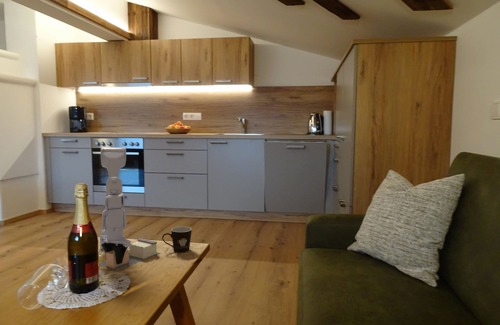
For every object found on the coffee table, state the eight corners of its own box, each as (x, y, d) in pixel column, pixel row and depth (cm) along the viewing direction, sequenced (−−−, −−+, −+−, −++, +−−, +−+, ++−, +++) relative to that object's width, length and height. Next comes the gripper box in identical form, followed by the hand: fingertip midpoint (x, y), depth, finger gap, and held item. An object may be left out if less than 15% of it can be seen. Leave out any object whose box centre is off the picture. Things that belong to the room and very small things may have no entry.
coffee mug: (193, 249, 153) (194, 227, 153) (188, 256, 145) (188, 232, 144) (168, 248, 155) (168, 225, 154) (161, 254, 146) (161, 231, 145)
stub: (106, 265, 130) (106, 252, 130) (121, 260, 136) (121, 247, 136) (113, 268, 128) (113, 254, 128) (128, 262, 134) (128, 249, 134)
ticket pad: (128, 254, 142) (128, 242, 142) (141, 250, 149) (141, 237, 148) (144, 259, 138) (144, 246, 138) (157, 254, 144) (157, 241, 144)
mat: (97, 267, 132) (96, 264, 132) (141, 250, 151) (141, 248, 151) (117, 273, 126) (116, 270, 126) (160, 255, 145) (160, 253, 145)
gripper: (92, 226, 130) (93, 261, 131) (119, 232, 123) (119, 269, 124) (108, 222, 136) (109, 256, 138) (135, 227, 129) (135, 263, 130)
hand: (115, 262), depth 131 cm, fingers closed on stub, 4 cm apart
